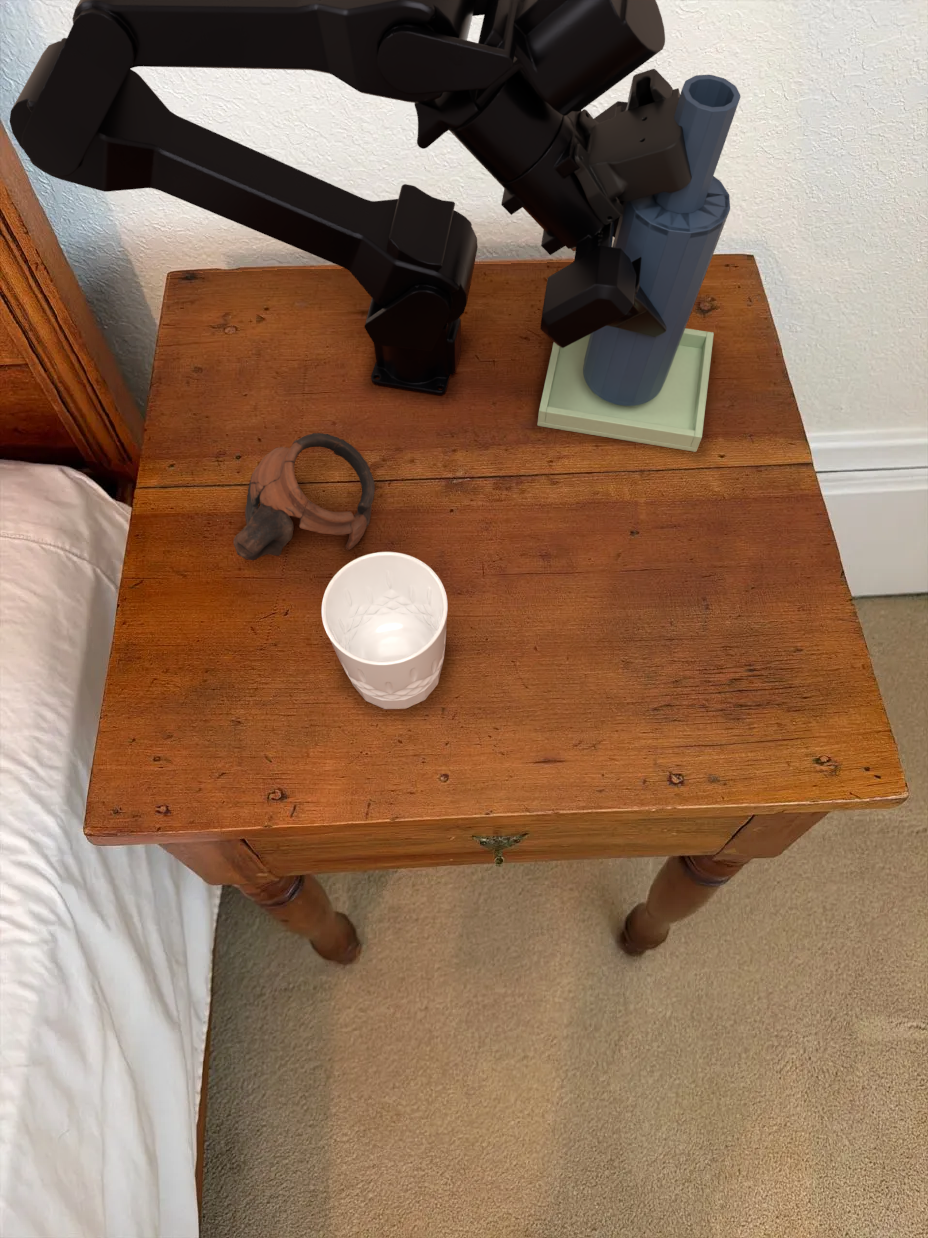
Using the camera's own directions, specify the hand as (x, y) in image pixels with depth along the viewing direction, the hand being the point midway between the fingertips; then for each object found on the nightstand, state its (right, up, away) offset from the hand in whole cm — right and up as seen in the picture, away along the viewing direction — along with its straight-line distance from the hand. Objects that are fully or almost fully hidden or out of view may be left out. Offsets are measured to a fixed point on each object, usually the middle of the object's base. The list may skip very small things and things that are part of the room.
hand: (663, 296), depth 66 cm
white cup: (-20, -28, -2) cm, 34 cm away
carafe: (-2, -4, +8) cm, 9 cm away
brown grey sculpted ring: (-28, -17, +4) cm, 33 cm away
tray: (-1, -4, +9) cm, 10 cm away
